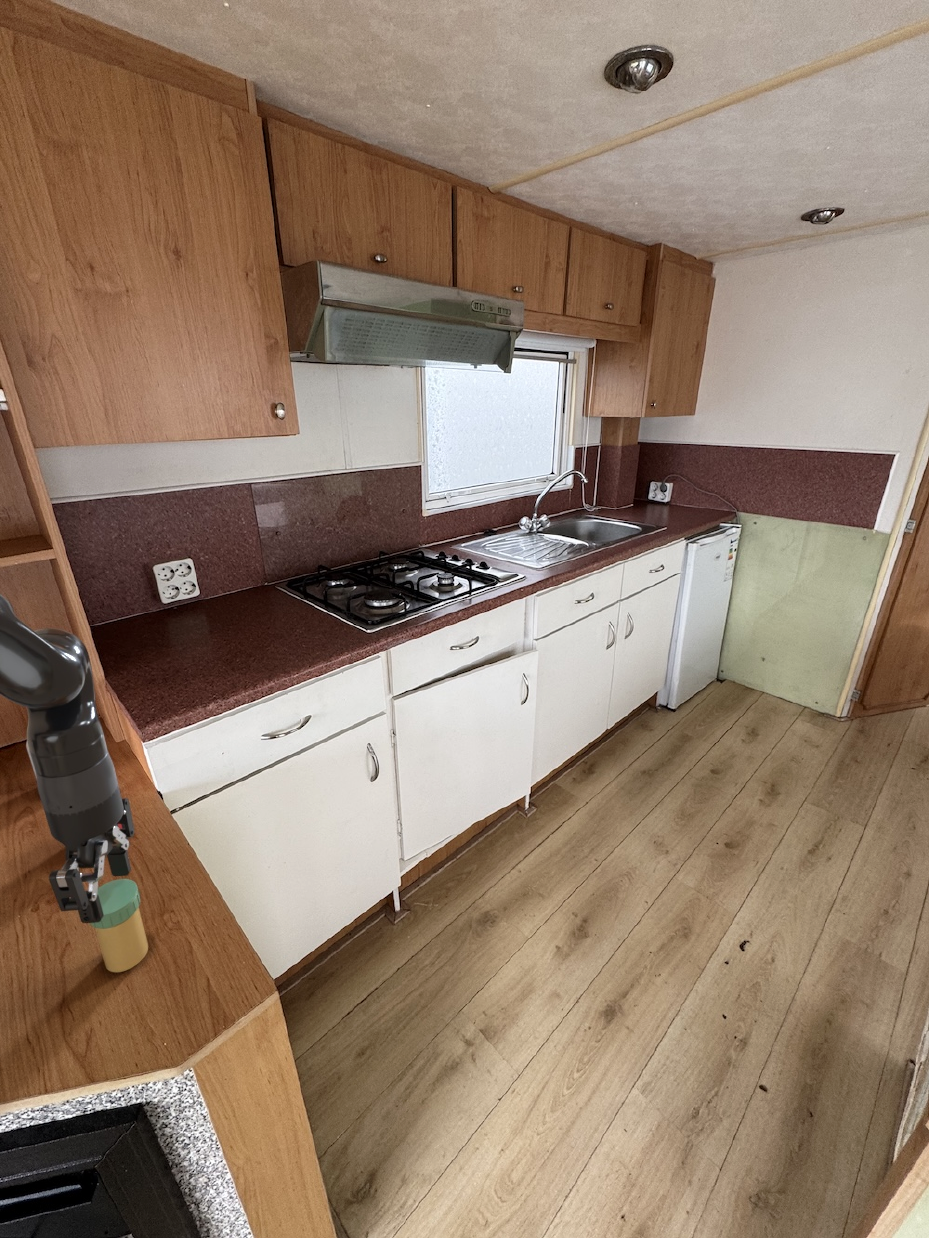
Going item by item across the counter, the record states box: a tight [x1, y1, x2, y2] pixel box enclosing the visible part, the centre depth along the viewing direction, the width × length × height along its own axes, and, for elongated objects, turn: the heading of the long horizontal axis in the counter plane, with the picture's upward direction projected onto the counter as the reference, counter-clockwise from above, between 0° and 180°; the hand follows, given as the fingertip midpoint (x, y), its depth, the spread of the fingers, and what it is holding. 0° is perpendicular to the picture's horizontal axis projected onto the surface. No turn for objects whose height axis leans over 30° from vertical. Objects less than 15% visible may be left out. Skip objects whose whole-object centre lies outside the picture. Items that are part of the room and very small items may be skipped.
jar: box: [93, 906, 149, 973], centre depth 73 cm, size 5×5×10 cm
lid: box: [88, 878, 142, 929], centre depth 72 cm, size 6×6×2 cm
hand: (108, 895), depth 70 cm, fingers open, 7 cm apart
